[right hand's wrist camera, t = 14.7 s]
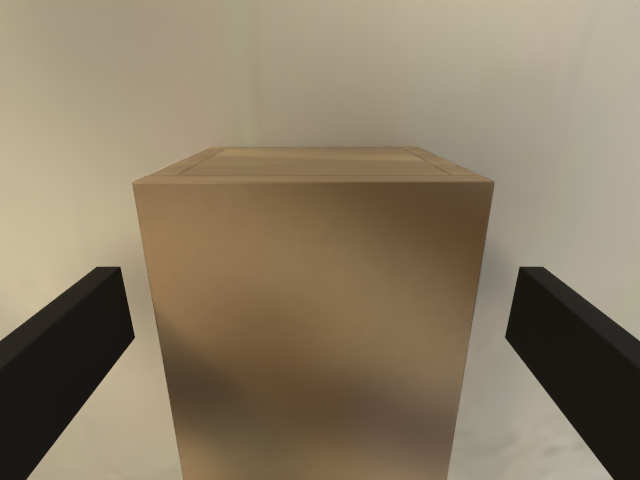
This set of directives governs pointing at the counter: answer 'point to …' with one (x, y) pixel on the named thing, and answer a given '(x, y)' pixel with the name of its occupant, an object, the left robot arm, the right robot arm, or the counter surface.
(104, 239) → the counter surface
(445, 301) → the cabinet
